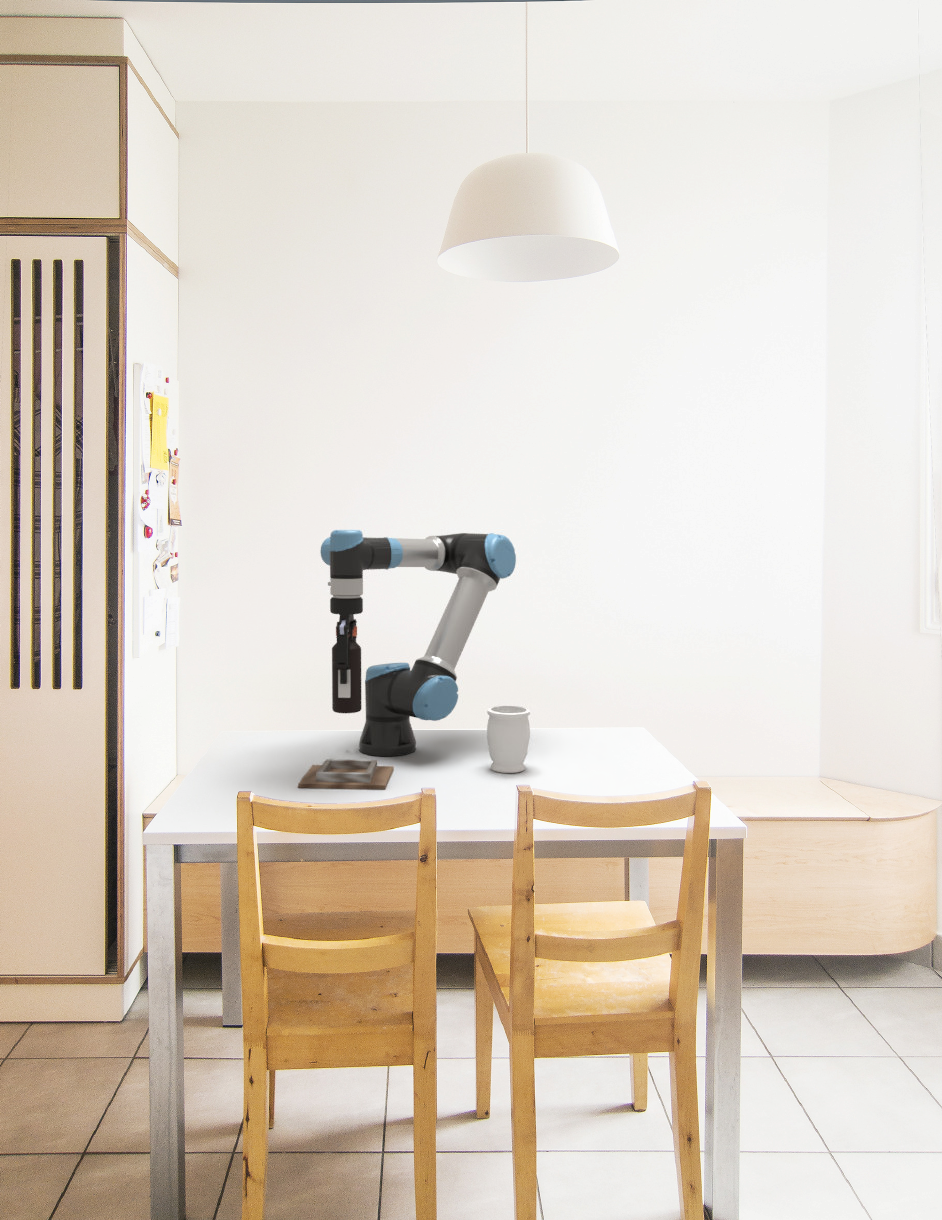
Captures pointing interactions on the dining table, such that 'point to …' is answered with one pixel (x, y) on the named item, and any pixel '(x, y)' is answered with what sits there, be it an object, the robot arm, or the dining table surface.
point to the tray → (347, 775)
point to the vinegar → (355, 679)
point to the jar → (508, 737)
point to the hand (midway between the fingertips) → (346, 694)
